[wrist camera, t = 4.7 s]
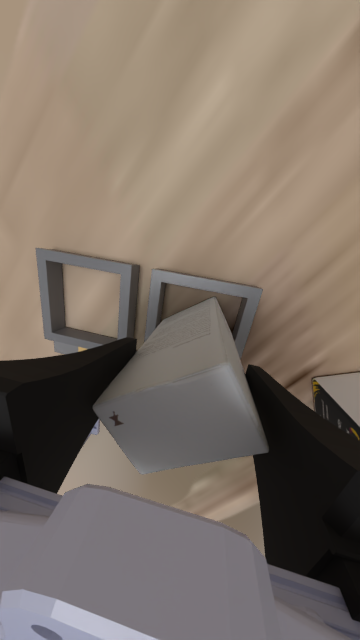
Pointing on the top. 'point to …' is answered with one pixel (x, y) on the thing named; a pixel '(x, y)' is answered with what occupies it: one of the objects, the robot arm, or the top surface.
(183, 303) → the top surface
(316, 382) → the medicine bottle
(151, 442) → the skincare box
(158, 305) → the gray open square frames
